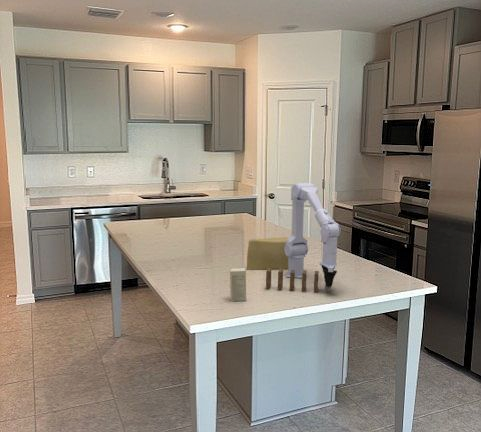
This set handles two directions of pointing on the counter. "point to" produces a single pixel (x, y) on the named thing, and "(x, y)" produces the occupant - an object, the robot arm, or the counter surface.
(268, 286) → the walnut domino
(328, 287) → the grey domino
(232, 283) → the skincare box
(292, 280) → the walnut domino
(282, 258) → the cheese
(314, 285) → the walnut domino
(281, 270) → the walnut domino
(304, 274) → the walnut domino
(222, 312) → the counter surface
